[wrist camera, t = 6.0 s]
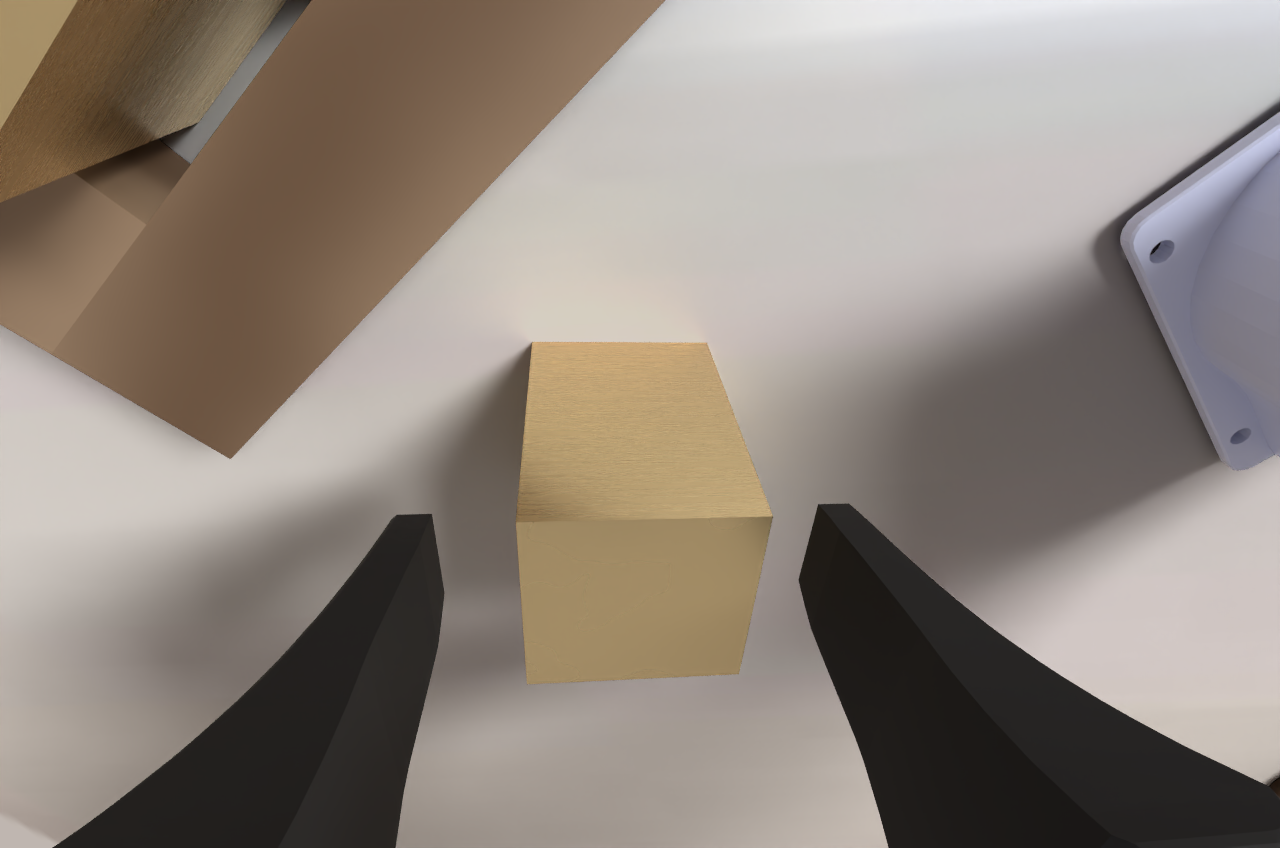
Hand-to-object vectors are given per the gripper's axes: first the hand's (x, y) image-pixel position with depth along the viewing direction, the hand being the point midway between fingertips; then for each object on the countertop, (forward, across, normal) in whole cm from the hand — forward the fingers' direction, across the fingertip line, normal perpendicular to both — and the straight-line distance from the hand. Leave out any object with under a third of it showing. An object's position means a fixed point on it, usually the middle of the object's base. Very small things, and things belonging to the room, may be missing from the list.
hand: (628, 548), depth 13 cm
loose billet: (+5, 0, 0) cm, 5 cm away
